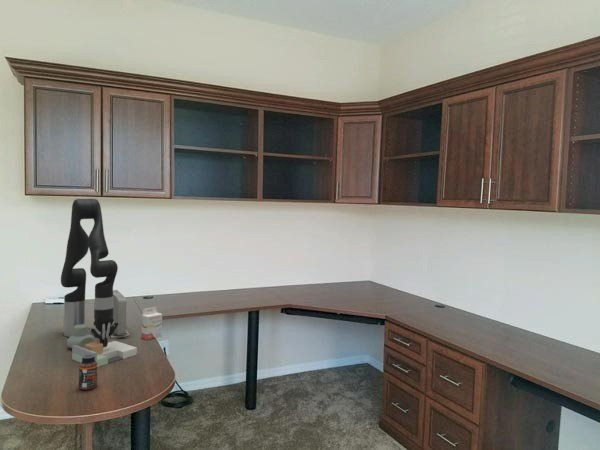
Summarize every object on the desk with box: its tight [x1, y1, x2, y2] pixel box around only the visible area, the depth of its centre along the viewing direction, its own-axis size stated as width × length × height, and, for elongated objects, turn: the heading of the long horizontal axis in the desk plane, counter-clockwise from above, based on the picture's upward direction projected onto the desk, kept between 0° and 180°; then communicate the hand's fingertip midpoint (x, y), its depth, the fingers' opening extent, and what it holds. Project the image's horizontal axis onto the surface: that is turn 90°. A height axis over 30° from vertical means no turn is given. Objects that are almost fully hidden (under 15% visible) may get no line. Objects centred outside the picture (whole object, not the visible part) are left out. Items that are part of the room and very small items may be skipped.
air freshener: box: [66, 323, 95, 349], centre depth 194 cm, size 11×8×10 cm
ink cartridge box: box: [141, 306, 163, 341], centre depth 211 cm, size 9×5×15 cm, turn 141°
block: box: [85, 341, 103, 355], centre depth 178 cm, size 5×5×4 cm
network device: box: [109, 289, 130, 339], centre depth 218 cm, size 26×9×20 cm, turn 33°
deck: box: [71, 340, 138, 368], centre depth 183 cm, size 16×20×6 cm
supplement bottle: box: [78, 355, 98, 391], centre depth 152 cm, size 6×6×11 cm
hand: (103, 346), depth 182 cm, fingers closed
